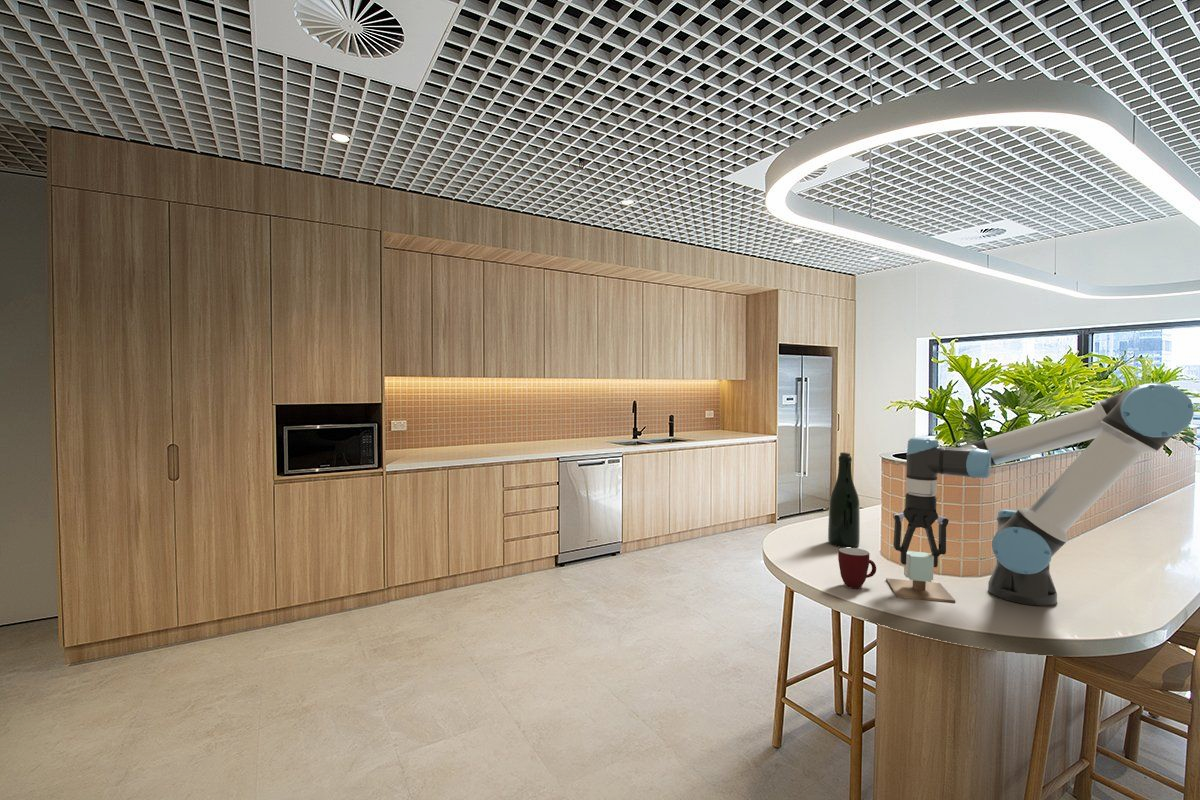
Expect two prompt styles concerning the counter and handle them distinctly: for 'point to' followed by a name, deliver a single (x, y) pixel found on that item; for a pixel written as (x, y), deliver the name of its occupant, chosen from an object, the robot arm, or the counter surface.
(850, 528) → the dark green wine bottle
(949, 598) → the brown square plate
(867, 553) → the mug
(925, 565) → the pale green block
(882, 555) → the counter surface
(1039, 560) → the robot arm
